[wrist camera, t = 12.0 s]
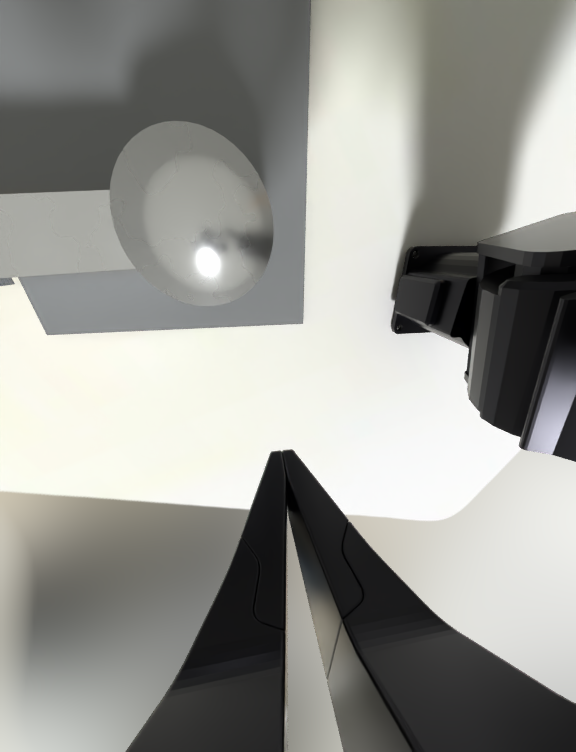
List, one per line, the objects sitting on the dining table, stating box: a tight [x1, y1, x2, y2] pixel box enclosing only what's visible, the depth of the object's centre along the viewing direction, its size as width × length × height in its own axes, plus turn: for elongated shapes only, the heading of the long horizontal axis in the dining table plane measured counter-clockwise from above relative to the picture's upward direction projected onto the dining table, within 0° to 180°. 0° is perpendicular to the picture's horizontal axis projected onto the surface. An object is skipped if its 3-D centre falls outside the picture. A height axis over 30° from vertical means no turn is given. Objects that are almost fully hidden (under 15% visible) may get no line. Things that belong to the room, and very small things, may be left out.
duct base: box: [0, 0, 311, 335], centre depth 13 cm, size 18×17×3 cm
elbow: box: [0, 121, 274, 306], centre depth 12 cm, size 16×7×4 cm, turn 93°
